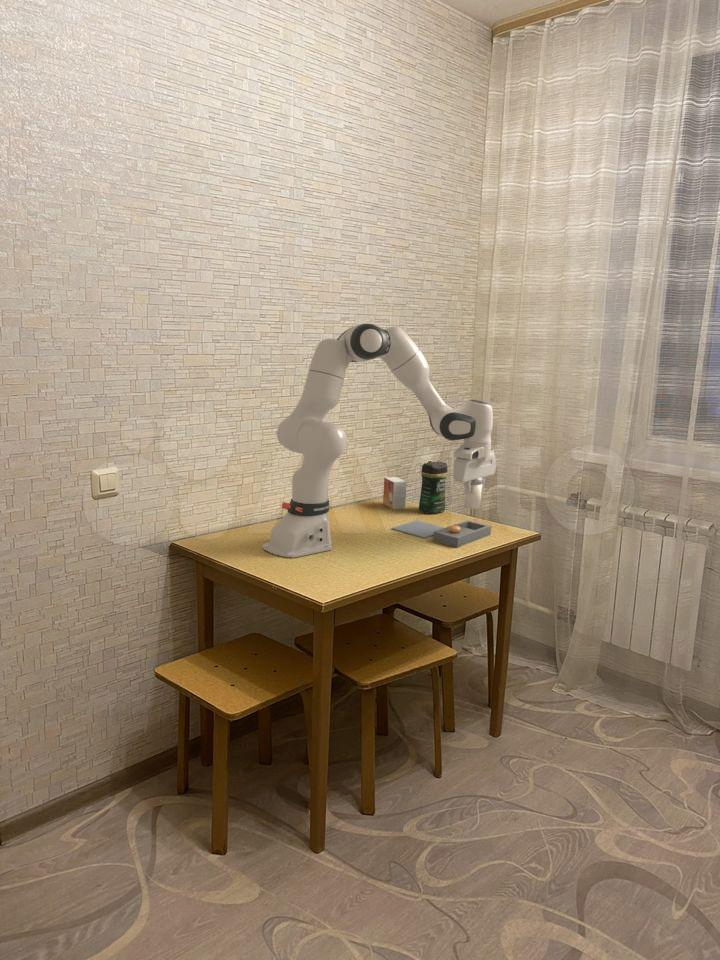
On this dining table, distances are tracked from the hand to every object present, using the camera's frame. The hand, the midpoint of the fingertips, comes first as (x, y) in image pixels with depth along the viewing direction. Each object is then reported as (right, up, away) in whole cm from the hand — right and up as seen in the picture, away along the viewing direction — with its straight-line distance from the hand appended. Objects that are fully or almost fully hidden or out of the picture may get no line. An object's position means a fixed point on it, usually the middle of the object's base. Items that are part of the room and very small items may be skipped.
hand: (473, 491), depth 243 cm
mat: (-17, -13, +7) cm, 22 cm away
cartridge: (0, -5, +1) cm, 5 cm away
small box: (-24, -6, +36) cm, 44 cm away
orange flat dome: (-7, -13, -5) cm, 15 cm away
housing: (-4, -15, 0) cm, 15 cm away
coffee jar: (-11, -8, +31) cm, 33 cm away
